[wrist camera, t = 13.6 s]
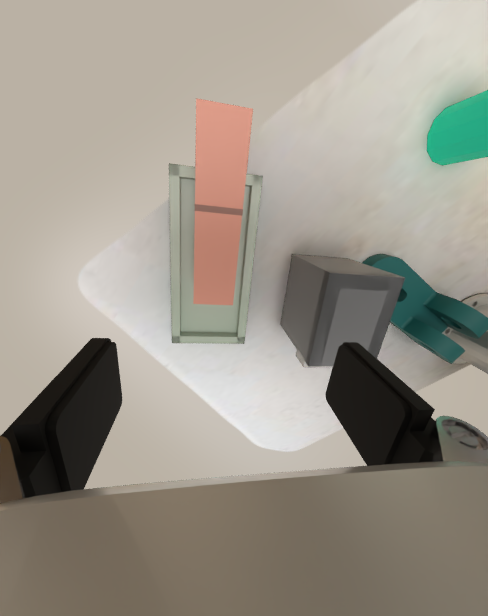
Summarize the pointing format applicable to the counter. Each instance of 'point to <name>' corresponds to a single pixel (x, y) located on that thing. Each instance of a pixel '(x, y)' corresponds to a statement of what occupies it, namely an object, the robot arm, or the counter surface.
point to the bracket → (429, 311)
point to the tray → (184, 314)
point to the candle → (460, 132)
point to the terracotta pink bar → (219, 198)
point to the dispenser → (336, 306)
